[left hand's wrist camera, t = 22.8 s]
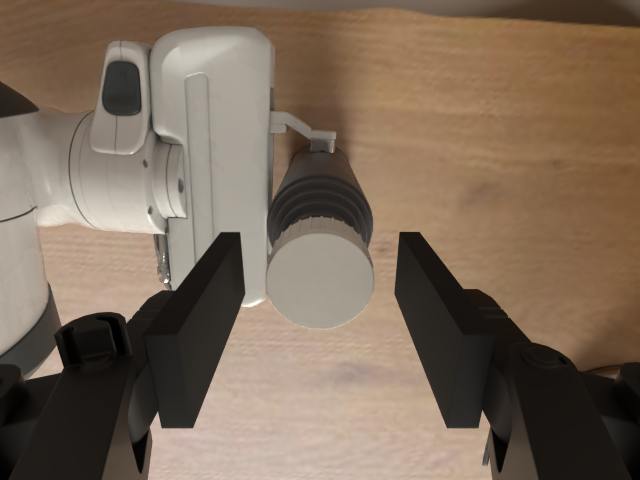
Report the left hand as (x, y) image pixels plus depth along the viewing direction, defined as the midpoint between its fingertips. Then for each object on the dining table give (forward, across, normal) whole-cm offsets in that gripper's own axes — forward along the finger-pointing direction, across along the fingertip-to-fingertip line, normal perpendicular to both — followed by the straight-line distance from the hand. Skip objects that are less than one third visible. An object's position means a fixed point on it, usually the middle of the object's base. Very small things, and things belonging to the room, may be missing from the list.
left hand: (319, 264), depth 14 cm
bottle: (+20, 0, 0) cm, 20 cm away
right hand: (+14, -1, 0) cm, 14 cm away
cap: (-1, 0, 0) cm, 1 cm away
